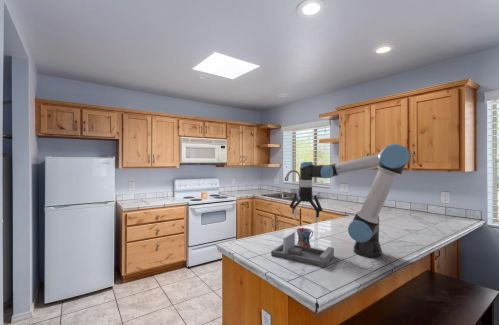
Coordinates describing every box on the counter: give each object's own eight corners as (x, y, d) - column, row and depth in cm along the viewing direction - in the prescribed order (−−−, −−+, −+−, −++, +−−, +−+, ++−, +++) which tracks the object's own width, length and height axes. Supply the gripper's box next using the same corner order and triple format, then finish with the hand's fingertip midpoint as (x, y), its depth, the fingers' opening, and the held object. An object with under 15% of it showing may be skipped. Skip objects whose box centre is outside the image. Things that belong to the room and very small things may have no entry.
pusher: (304, 250, 149) (304, 233, 149) (295, 258, 137) (295, 239, 137) (292, 248, 153) (293, 231, 152) (283, 255, 141) (283, 237, 141)
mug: (302, 250, 151) (303, 232, 151) (292, 246, 159) (293, 229, 159) (317, 247, 157) (318, 230, 157) (307, 243, 165) (307, 226, 165)
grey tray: (333, 256, 142) (333, 247, 142) (325, 267, 127) (325, 257, 127) (284, 246, 157) (284, 238, 157) (271, 255, 143) (271, 246, 143)
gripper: (328, 187, 154) (327, 222, 154) (289, 184, 167) (288, 216, 168) (324, 188, 148) (323, 225, 148) (284, 185, 161) (284, 219, 161)
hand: (305, 220), depth 158 cm, fingers open, 13 cm apart
